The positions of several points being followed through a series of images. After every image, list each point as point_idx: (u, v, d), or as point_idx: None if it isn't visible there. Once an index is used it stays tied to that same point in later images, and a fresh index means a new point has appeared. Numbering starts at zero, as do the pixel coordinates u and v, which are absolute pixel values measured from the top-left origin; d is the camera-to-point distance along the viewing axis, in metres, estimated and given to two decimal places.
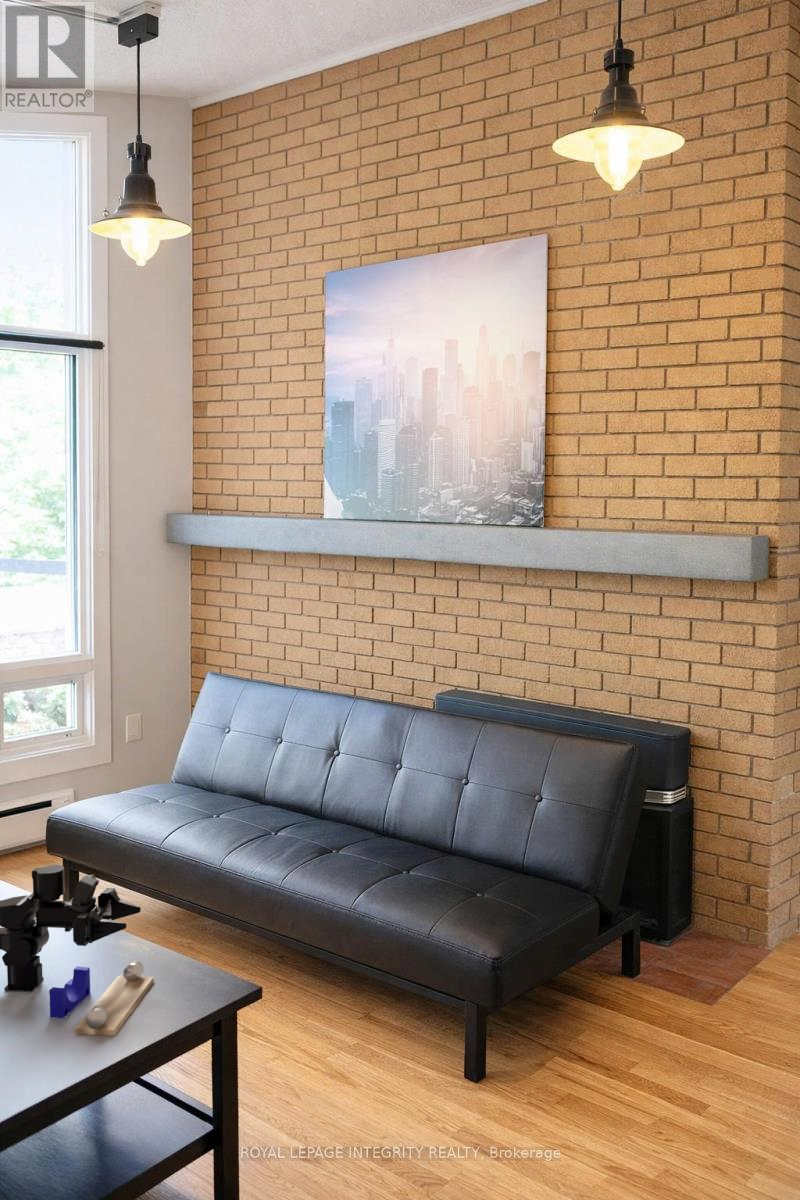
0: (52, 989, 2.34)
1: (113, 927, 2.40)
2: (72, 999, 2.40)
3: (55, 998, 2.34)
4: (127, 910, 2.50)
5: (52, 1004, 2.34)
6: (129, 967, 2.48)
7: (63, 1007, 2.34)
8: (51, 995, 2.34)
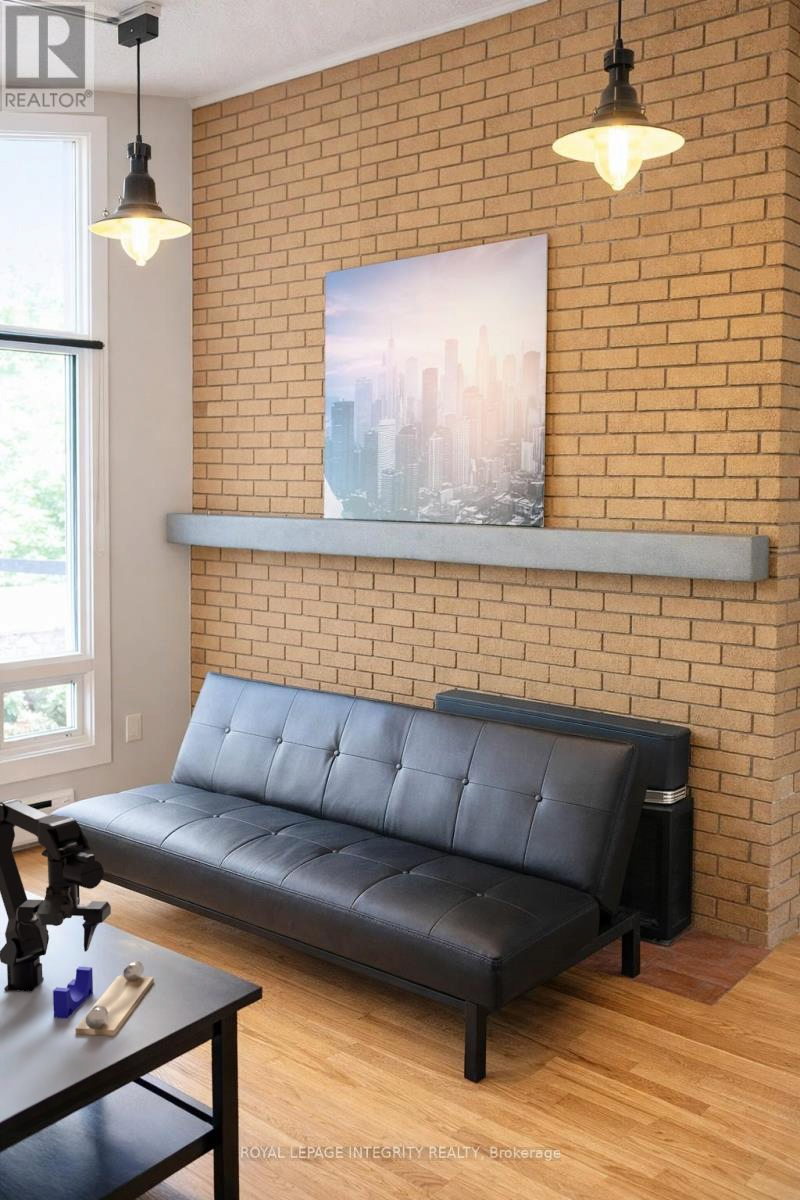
0: (55, 989, 2.34)
1: None
2: (75, 999, 2.40)
3: (59, 999, 2.34)
4: None
5: (56, 1004, 2.34)
6: (129, 967, 2.48)
7: (67, 1007, 2.34)
8: (55, 995, 2.34)
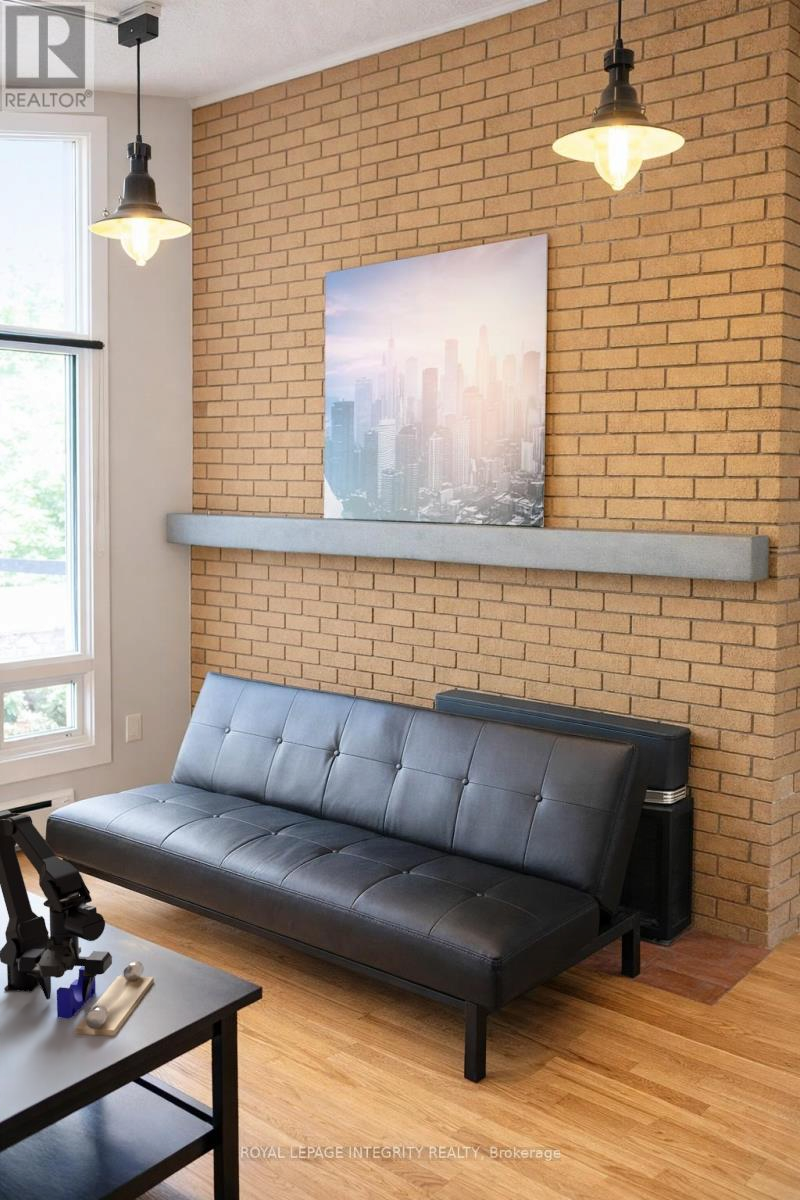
0: (59, 989, 2.34)
1: None
2: (78, 999, 2.40)
3: (62, 999, 2.34)
4: None
5: (59, 1004, 2.34)
6: (129, 967, 2.48)
7: (70, 1007, 2.34)
8: (58, 995, 2.34)
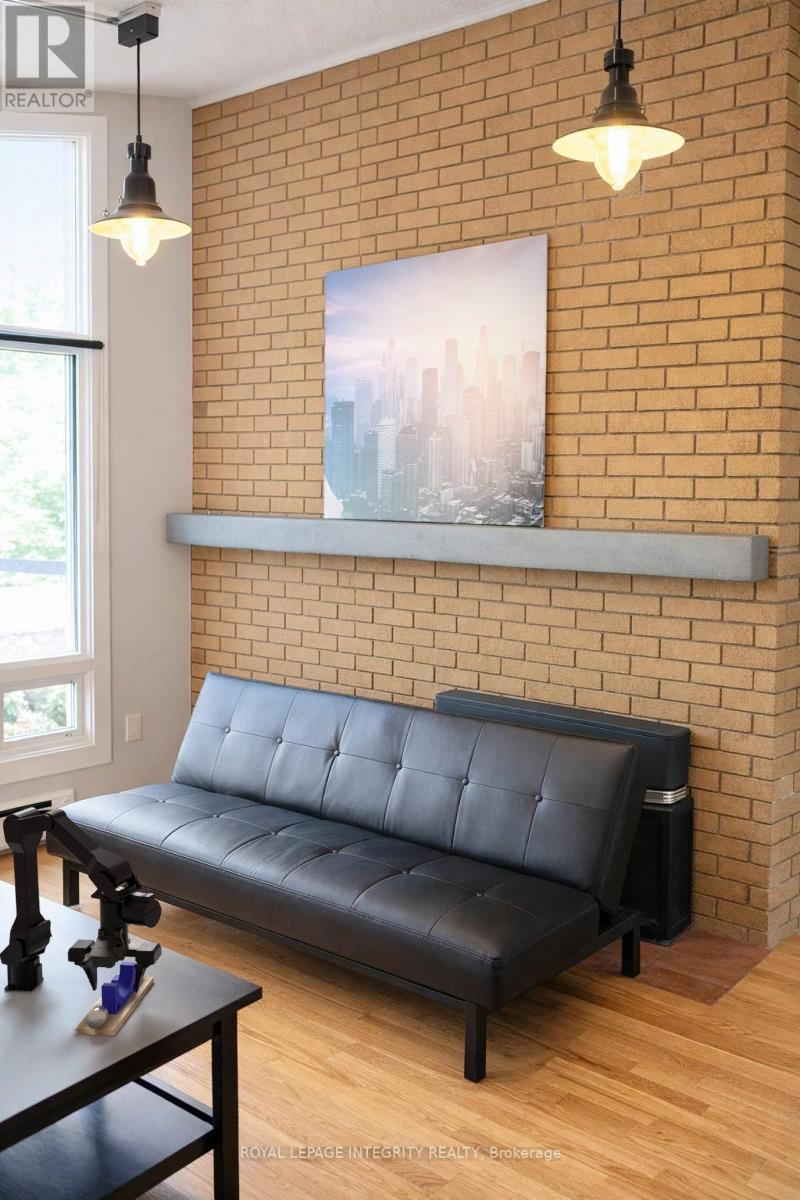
0: (104, 985, 2.33)
1: None
2: (121, 994, 2.39)
3: (107, 994, 2.33)
4: None
5: (104, 1000, 2.33)
6: None
7: (116, 1002, 2.33)
8: (103, 991, 2.33)
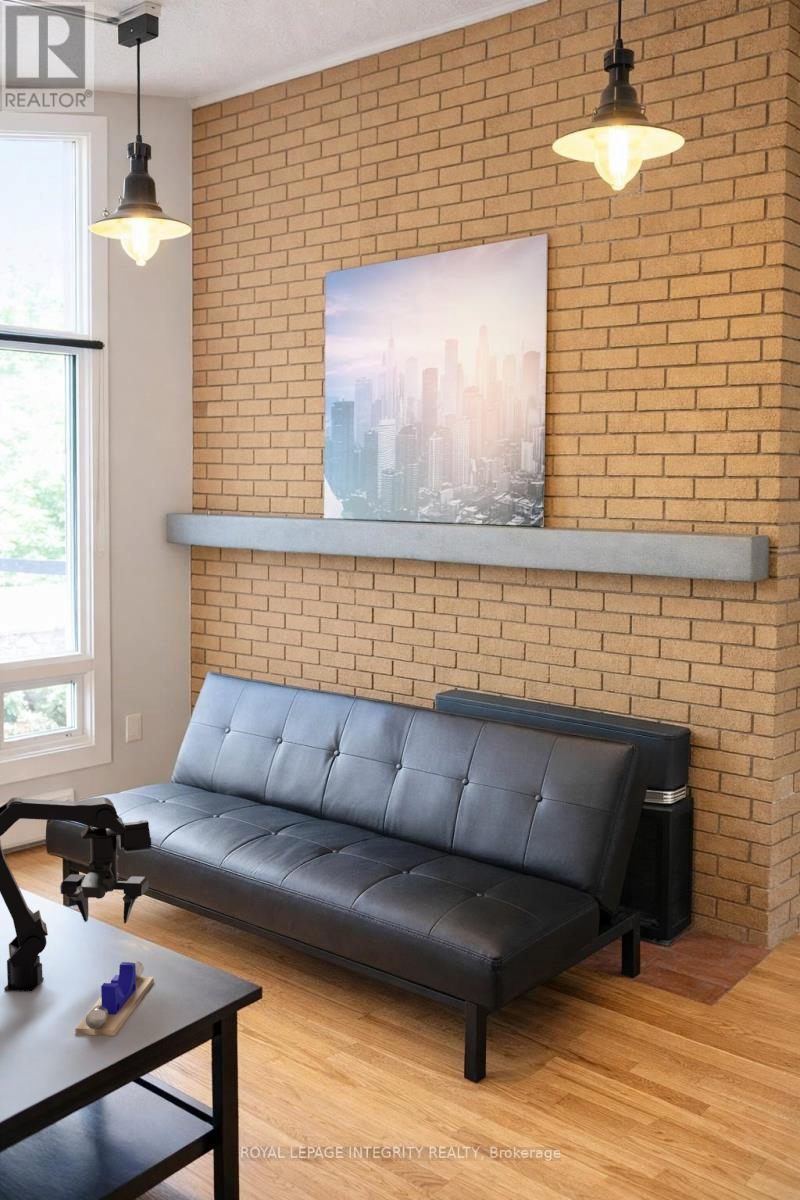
0: (103, 985, 2.33)
1: None
2: (121, 994, 2.39)
3: (107, 994, 2.33)
4: None
5: (104, 1000, 2.33)
6: None
7: (115, 1002, 2.33)
8: (103, 991, 2.33)
